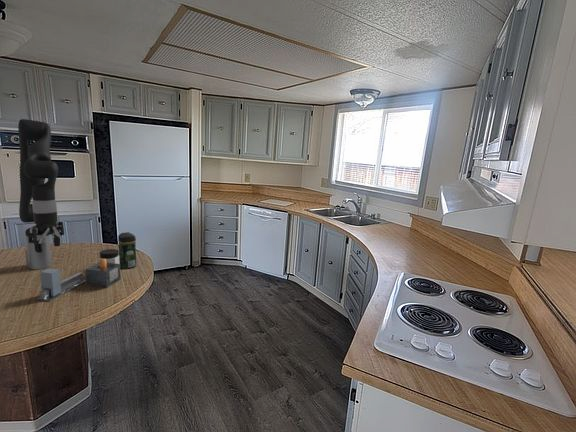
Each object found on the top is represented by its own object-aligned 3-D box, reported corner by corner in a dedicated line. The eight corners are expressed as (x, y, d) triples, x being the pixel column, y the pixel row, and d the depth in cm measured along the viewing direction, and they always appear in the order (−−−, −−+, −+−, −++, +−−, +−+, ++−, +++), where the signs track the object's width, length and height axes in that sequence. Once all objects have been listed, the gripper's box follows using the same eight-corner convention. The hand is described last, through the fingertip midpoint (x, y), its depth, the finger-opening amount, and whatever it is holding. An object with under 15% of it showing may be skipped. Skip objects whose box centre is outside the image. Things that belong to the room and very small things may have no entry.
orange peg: (98, 276, 141) (98, 260, 139) (102, 274, 144) (102, 258, 142) (104, 276, 141) (103, 260, 139) (108, 274, 143) (107, 258, 142)
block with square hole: (86, 285, 138) (85, 269, 137) (101, 277, 148) (100, 262, 146) (107, 287, 138) (106, 271, 136) (120, 279, 147) (120, 264, 146)
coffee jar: (117, 264, 165) (116, 232, 162) (133, 262, 171) (132, 230, 167) (122, 270, 158) (121, 236, 155) (138, 267, 164) (137, 234, 160)
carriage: (42, 295, 125) (40, 272, 123) (50, 290, 129) (48, 268, 127) (53, 296, 125) (51, 273, 123) (61, 292, 128) (59, 269, 126)
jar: (99, 278, 147) (98, 254, 145) (99, 272, 154) (98, 250, 151) (120, 275, 152) (119, 252, 150) (119, 269, 159) (118, 248, 156)
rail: (36, 299, 123) (35, 290, 122) (75, 279, 143) (75, 271, 142) (49, 301, 122) (48, 292, 121) (87, 281, 143) (86, 273, 142)
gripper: (51, 207, 127) (54, 243, 130) (19, 213, 113) (23, 253, 116) (68, 208, 127) (70, 245, 130) (37, 214, 113) (41, 255, 116)
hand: (48, 249), depth 123 cm, fingers open, 8 cm apart
